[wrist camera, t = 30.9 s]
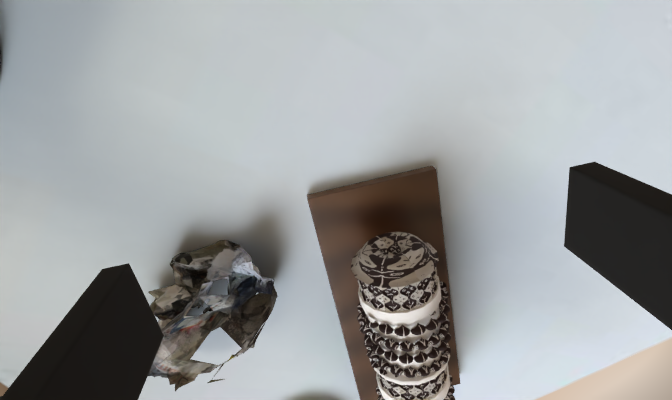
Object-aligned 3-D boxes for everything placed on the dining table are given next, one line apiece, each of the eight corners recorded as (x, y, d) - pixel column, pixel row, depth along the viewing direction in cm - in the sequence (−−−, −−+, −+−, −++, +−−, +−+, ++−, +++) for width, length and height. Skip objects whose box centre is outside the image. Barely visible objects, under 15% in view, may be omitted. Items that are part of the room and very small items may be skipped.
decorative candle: (479, 434, 43) (467, 246, 33) (411, 481, 40) (375, 291, 30) (427, 377, 51) (405, 211, 41) (367, 413, 48) (327, 244, 38)
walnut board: (456, 376, 51) (460, 383, 50) (361, 399, 51) (362, 407, 50) (432, 165, 39) (436, 168, 38) (307, 194, 39) (307, 199, 38)
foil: (298, 341, 42) (158, 433, 34) (252, 295, 50) (129, 360, 42) (281, 251, 37) (111, 335, 29) (232, 215, 45) (88, 273, 37)
